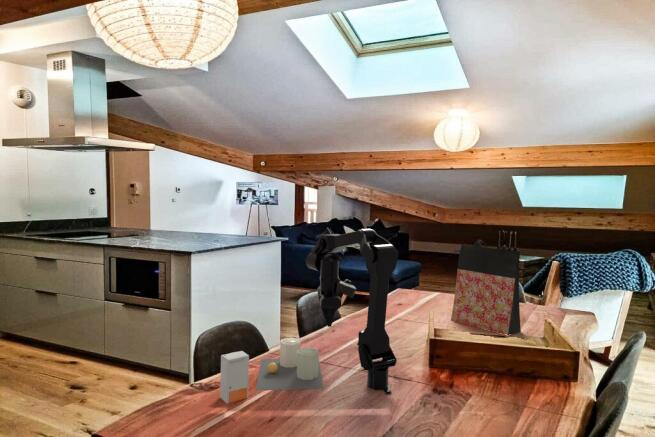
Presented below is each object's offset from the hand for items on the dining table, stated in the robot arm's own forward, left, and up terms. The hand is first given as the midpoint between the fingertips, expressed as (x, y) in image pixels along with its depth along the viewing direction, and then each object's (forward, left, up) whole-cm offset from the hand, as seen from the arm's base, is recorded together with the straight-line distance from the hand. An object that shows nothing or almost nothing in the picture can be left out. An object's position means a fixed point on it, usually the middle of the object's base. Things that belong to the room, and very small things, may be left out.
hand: (328, 322), depth 144 cm
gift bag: (+37, -67, -12) cm, 78 cm away
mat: (-13, +12, -12) cm, 21 cm away
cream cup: (-6, +12, -11) cm, 17 cm away
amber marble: (-13, +17, -10) cm, 23 cm away
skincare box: (-28, +26, -12) cm, 40 cm away
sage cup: (-15, +7, -11) cm, 20 cm away
